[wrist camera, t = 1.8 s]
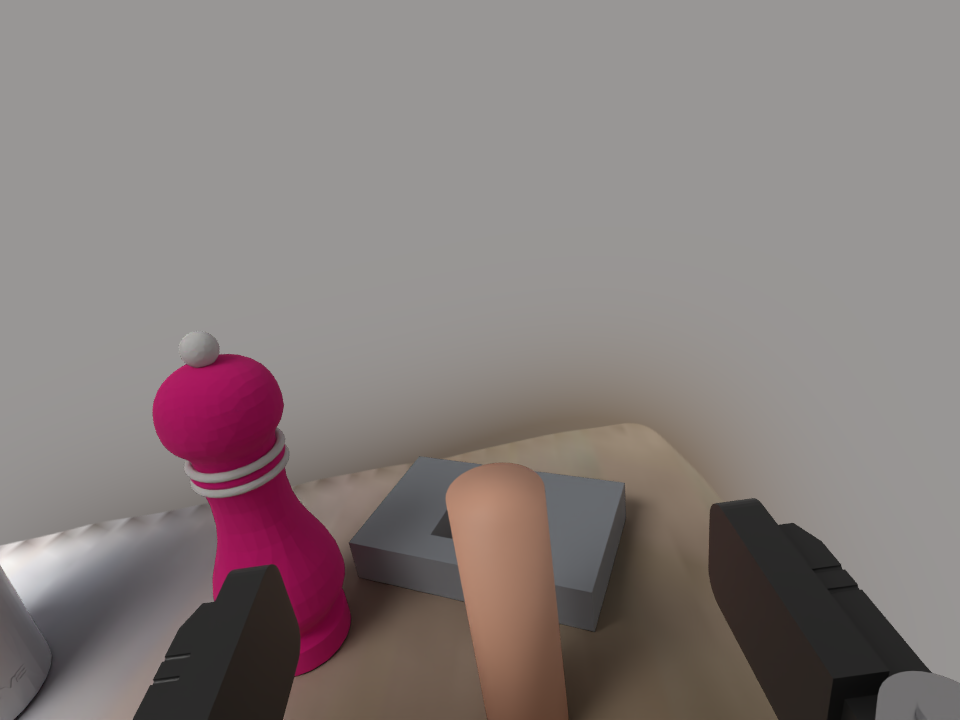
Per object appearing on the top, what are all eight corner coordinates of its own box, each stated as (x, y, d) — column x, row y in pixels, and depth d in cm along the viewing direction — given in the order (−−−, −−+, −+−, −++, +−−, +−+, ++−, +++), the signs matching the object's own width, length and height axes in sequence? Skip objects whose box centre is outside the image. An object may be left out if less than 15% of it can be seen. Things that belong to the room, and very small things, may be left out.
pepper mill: (365, 580, 40) (286, 297, 32) (351, 677, 33) (247, 351, 25) (257, 597, 40) (150, 317, 32) (222, 697, 33) (75, 377, 25)
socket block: (358, 577, 40) (348, 542, 39) (425, 487, 48) (419, 456, 47) (594, 631, 34) (592, 592, 33) (625, 517, 42) (624, 483, 41)
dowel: (476, 745, 29) (428, 516, 23) (504, 674, 32) (469, 457, 26) (556, 772, 27) (526, 533, 22) (577, 694, 31) (556, 469, 25)
